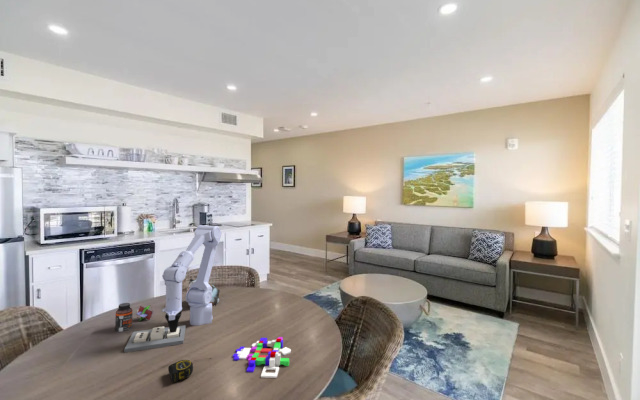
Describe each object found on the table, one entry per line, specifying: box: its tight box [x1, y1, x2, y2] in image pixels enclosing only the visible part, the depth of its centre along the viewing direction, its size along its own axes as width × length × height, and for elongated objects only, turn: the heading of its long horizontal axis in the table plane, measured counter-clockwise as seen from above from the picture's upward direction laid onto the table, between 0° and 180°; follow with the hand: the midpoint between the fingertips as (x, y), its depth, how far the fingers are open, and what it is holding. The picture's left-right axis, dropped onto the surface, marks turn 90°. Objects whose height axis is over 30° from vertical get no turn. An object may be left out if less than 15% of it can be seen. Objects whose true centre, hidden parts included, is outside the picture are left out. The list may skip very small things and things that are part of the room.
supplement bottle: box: [114, 302, 133, 333], centre depth 123 cm, size 6×6×11 cm
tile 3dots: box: [134, 331, 149, 343], centre depth 113 cm, size 4×6×4 cm, turn 21°
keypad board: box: [123, 324, 186, 353], centre depth 115 cm, size 19×14×2 cm
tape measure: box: [167, 359, 194, 383], centre depth 94 cm, size 7×7×4 cm
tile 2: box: [166, 328, 180, 339], centre depth 117 cm, size 4×6×4 cm, turn 21°
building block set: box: [232, 336, 292, 379], centre depth 107 cm, size 25×20×4 cm
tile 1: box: [150, 326, 166, 341], centre depth 115 cm, size 4×6×4 cm, turn 21°
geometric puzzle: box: [135, 304, 154, 322], centre depth 135 cm, size 7×7×8 cm
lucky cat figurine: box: [186, 277, 220, 307], centre depth 156 cm, size 17×14×16 cm
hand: (173, 331), depth 117 cm, fingers closed, pressing on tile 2
